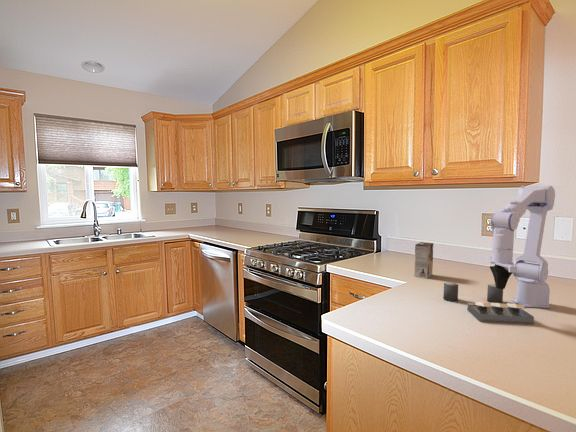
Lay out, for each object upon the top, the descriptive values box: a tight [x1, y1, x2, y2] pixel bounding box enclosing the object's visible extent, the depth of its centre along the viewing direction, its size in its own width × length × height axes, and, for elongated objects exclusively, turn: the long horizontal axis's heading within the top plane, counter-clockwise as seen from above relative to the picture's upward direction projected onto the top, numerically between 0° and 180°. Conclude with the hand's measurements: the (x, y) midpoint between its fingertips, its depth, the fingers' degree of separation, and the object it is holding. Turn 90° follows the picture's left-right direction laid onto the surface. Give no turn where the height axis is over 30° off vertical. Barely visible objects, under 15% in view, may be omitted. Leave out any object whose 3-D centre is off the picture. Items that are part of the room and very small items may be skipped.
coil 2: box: [486, 283, 504, 304], centre depth 125 cm, size 5×5×6 cm
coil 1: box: [442, 281, 459, 303], centre depth 127 cm, size 5×5×6 cm
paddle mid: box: [491, 302, 508, 308], centre depth 110 cm, size 6×2×1 cm, turn 172°
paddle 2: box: [506, 302, 526, 309], centre depth 110 cm, size 6×2×1 cm, turn 172°
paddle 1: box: [475, 301, 491, 307], centre depth 111 cm, size 6×2×1 cm, turn 172°
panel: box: [466, 302, 535, 325], centre depth 110 cm, size 16×10×3 cm, turn 82°
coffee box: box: [414, 241, 435, 279], centre depth 162 cm, size 9×6×16 cm
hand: (500, 288), depth 110 cm, fingers closed
